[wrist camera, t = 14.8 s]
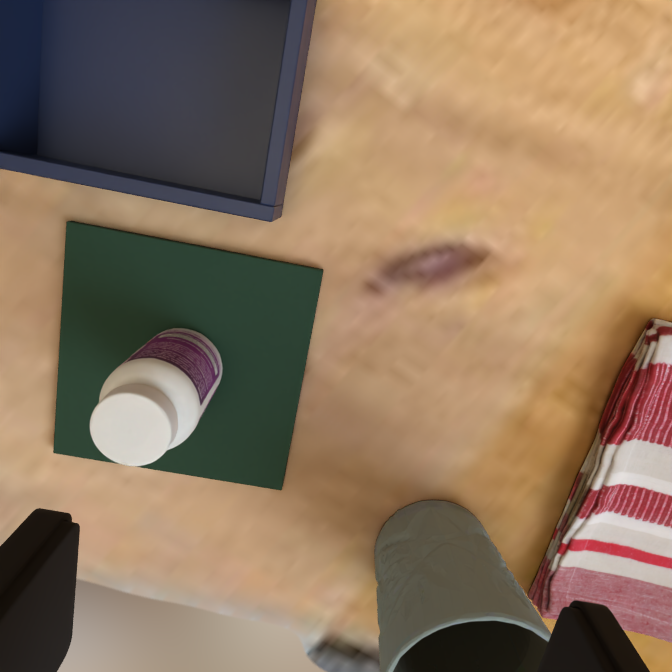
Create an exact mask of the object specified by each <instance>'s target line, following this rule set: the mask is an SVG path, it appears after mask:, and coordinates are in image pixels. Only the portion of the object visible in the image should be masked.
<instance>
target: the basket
mask: <svg viewBox="0 0 672 672" xmlns="http://www.w3.org/2000/svg"><path fill="white" fill-rule="evenodd" d="M316 1H317V0H0V169H5V170H10V171H16V172H21V173H26V174H31V175H36V176H41V177H46V178H51V179H56V180H61V181H66V182H71V183H76V184H81V185H86V186H92V187H97V188H102V189H107V190H112V191H117V192H122V193H127V194H132V195H137V196H142V197H147V198H152V199H157V200H162V201H167V202H173V203H178V204H183V205H188V206H193V207H198V208H203V209H208V210H213V211H218V212H223V213H228V214H233V215H238V216H243V217H249V218H254V219H259V220H264V221H269V222H272V221H274V220H276V219H278V218H280V217H281V215H282V208H283V202H284V196H285V190H286V184H287V178H288V172H289V166H290V160H291V153H292V147H293V141H294V135H295V129H296V123H297V117H298V111H299V105H300V98H301V92H302V86H303V80H304V74H305V68H306V62H307V56H308V50H309V43H310V37H311V31H312V25H313V19H314V13H315V7H316Z"/></svg>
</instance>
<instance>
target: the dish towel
mask: <svg viewBox="0 0 672 672" xmlns="http://www.w3.org/2000/svg"><path fill="white" fill-rule="evenodd" d="M528 597H529V599H531V600H532V603H533V604H534V605H535V606H538V608H537V609H538V611H539V612H540V614H541V616H542V617H543V618H549V619H556V620H557V619H558V616H559V614H560V612H561V610H562V608H564V607H569V605H570V603H571V602H573V601H574V600H578V601H584V602H590V603H596V604H602V605H605V606H607V607H608V608H609V609H610V610H611V612H612V613H613V615H614V616H615V618H616V620H617V621H618V623H619V624H620V626H621V627H622V629H623V630H627V631H632V632H636V633H641V634H645V635H649V636H652V637H655V638H658V639H662V640H665V641H668V642H671V643H672V322H668V321H665V320H660V319H655V318H654V319H651V320H650V321H649V323H648V324H647V326H646V327H645V330H644V332H643V333H642V335H641V337H640V338H639V340H638V342H637V344H636V346H635V347H634V349H633V351H632V352H631V354H630V355H629V357H628V359H627V361H626V362H625V364H624V366H623V368H622V370H621V373H620V375H619V377H618V379H617V382H616V384H615V386H614V389H613V392H612V394H611V396H610V398H609V400H608V403H607V405H606V408H605V410H604V412H603V415H602V418H601V421H600V424H599V427H598V432H597V435H596V438H595V440H594V443H593V445H592V447H591V450H590V452H589V454H588V455H587V457H586V459H585V462H584V464H583V466H582V468H581V470H580V472H579V474H578V476H577V479H576V481H575V484H574V486H573V488H572V491H571V493H570V496H569V498H568V501H567V504H566V506H565V509H564V511H563V513H562V516H561V518H560V520H559V522H558V524H557V527H556V529H555V532H554V535H553V538H552V540H551V543H550V545H549V548H548V550H547V553H546V555H545V557H544V559H543V561H542V563H541V566H540V568H539V571H538V574H537V576H536V578H535V581H534V583H533V584H532V586H531V589H530V591H529V594H528Z"/></svg>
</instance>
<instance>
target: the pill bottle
mask: <svg viewBox="0 0 672 672" xmlns="http://www.w3.org/2000/svg"><path fill="white" fill-rule="evenodd" d="M221 376H222V361H221V357H220V354H219V352H218V350H217V349H216V347H215V346H214V345H213V343H212V342H211V341H210V340H209V339H208V338H206V337H205V336H204V335H202V334H201V333H198V332H196V331H193V330H189V329H184V328H173V329H169V330H165V331H163V332H161V333H159V334H157V335H156V336H155V337H153V338H152V339H151V340H150V341H148V342H147V343H146V344H145V345H144V346H142V347H141V348H140V349H138V350H137V351H136V352H135V353H134V354H133V355H132V356H130V357H129V358H128V359H127V360H126V361H125V362H124V363H122V364H121V365H120V366H119V367H117V368H116V369H115V370H114V371H113V372H112V373H111V374H110V376H109V377H108V378H107V379H106V381H105V383H104V385H103V387H102V389H101V392H100V397H99V403H98V405H97V406H96V407H95V409H94V411H93V413H92V415H91V419H90V433H91V437H92V439H93V441H94V443H95V445H96V447H97V448H98V449H99V450H100V452H101V453H102V454H104V455H105V456H106V457H107V458H109V459H110V460H112V461H114V462H116V463H119V464H123V465H126V466H143V465H147V464H149V463H152V462H154V461H156V460H157V459H159V458H160V457H161V456H162V455H163V454H164V453H165V452H166V451H167V450H169V449H172V448H174V447H176V446H178V445H179V444H181V443H182V442H183V441H185V440H186V439H187V438H188V437H189V436H190V434H191V433H192V432H193V431H194V429H195V428H196V426H197V424H198V422H199V420H200V418H201V417H202V415H203V413H204V411H205V409H206V408H207V406H208V404H209V402H210V400H211V398H212V397H213V395H214V393H215V391H216V389H217V387H218V385H219V383H220V380H221Z"/></svg>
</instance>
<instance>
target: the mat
mask: <svg viewBox="0 0 672 672" xmlns="http://www.w3.org/2000/svg"><path fill="white" fill-rule="evenodd" d="M322 275H323V269H319V268H314V267H308V266H303V265H298V264H293V263H288V262H283V261H277V260H272V259H267V258H262V257H257V256H251V255H246V254H241V253H236V252H231V251H225V250H220V249H215V248H210V247H205V246H200V245H194V244H189V243H184V242H179V241H174V240H168V239H163V238H158V237H153V236H148V235H142V234H137V233H132V232H127V231H122V230H117V229H111V228H106V227H101V226H96V225H91V224H85V223H80V222H75V221H67V225H66V242H65V259H64V277H63V294H62V312H61V329H60V347H59V364H58V382H57V399H56V416H55V434H54V451H53V453H57V454H63V455H69V456H75V457H81V458H87V459H93V460H99V461H106V462H112V463H116V462H114V461H112V460H110V459H109V458H107V457H106V456H105V455H104V454H102V453H101V452H100V450H99V449H98V448H97V447H96V445H95V443H94V441H93V439H92V437H91V433H90V419H91V415H92V413H93V411H94V409H95V407H96V406H97V405H98V403H99V397H100V392H101V389H102V387H103V385H104V383H105V381H106V379H107V378H108V377H109V376H110V374H111V373H112V372H113V371H114V370H115V369H116V368H117V367H119V366H120V365H121V364H122V363H124V362H125V361H126V360H127V359H128V358H129V357H130V356H132V355H133V354H134V353H135V352H136V351H137V350H138V349H140V348H141V347H142V346H144V345H145V344H146V343H147V342H148V341H150V340H151V339H152V338H153V337H155V336H156V335H157V334H159V333H161V332H163V331H165V330H169V329H173V328H184V329H189V330H193V331H196V332H198V333H201V334H202V335H204V336H205V337H206V338H208V339H209V340H210V341H211V342H212V343H213V345H214V346H215V347H216V349H217V350H218V352H219V354H220V357H221V361H222V376H221V380H220V383H219V385H218V387H217V389H216V391H215V393H214V395H213V397H212V398H211V400H210V402H209V404H208V406H207V408H206V409H205V411H204V413H203V415H202V417H201V418H200V420H199V422H198V424H197V426H196V428H195V429H194V431H193V432H192V433H191V434H190V436H189V437H188V438H187V439H186V440H185V441H183V442H182V443H181V444H179V445H178V446H176V447H174V448H172V449H169V450H167V451H166V452H165V453H164V454H163V455H162V456H161V457H160V458H159V459H157V460H156V461H154V462H152V463H149V464H147V465H143V466H136V467H142V468H148V469H154V470H160V471H167V472H173V473H179V474H185V475H191V476H197V477H203V478H209V479H215V480H221V481H228V482H234V483H240V484H246V485H252V486H258V487H264V488H270V489H276V490H282V486H283V481H284V475H285V470H286V465H287V460H288V454H289V449H290V444H291V438H292V433H293V428H294V423H295V417H296V412H297V407H298V402H299V396H300V391H301V386H302V380H303V375H304V370H305V365H306V359H307V354H308V349H309V344H310V338H311V333H312V328H313V322H314V317H315V312H316V307H317V301H318V296H319V291H320V286H321V280H322ZM118 464H119V463H118Z"/></svg>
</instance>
